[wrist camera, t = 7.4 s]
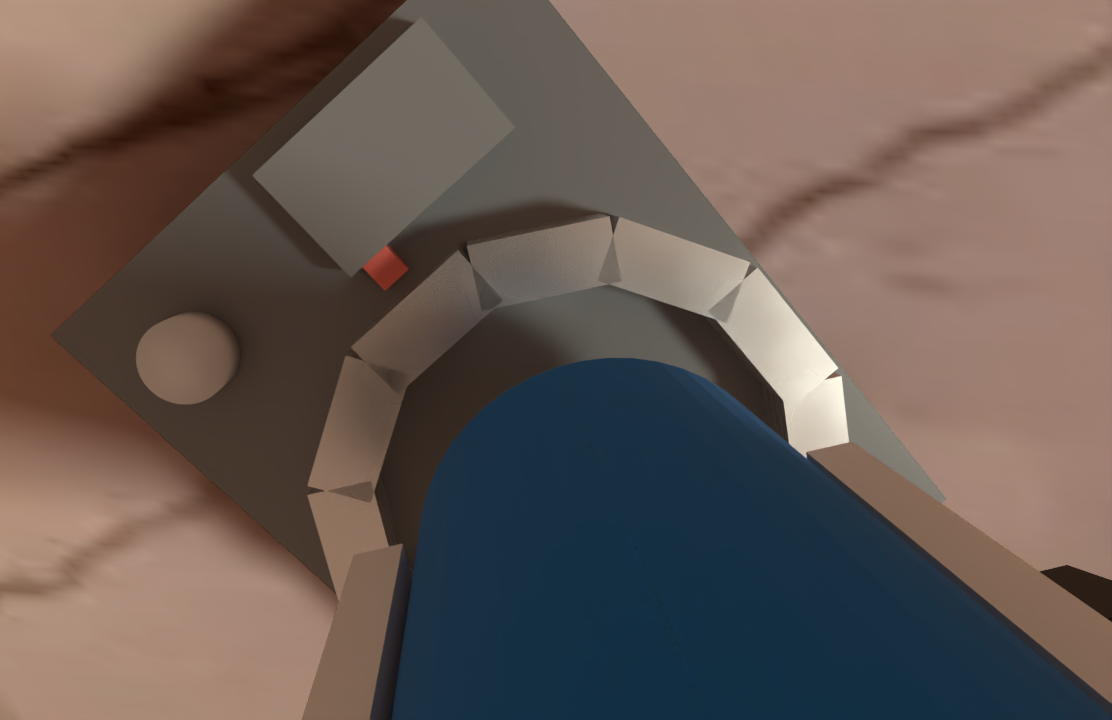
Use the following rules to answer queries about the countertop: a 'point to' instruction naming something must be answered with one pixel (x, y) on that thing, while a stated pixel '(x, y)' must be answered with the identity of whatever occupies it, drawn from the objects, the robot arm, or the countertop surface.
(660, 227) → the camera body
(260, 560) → the countertop surface
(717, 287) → the mount ring
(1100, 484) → the countertop surface
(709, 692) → the beverage can
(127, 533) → the countertop surface
